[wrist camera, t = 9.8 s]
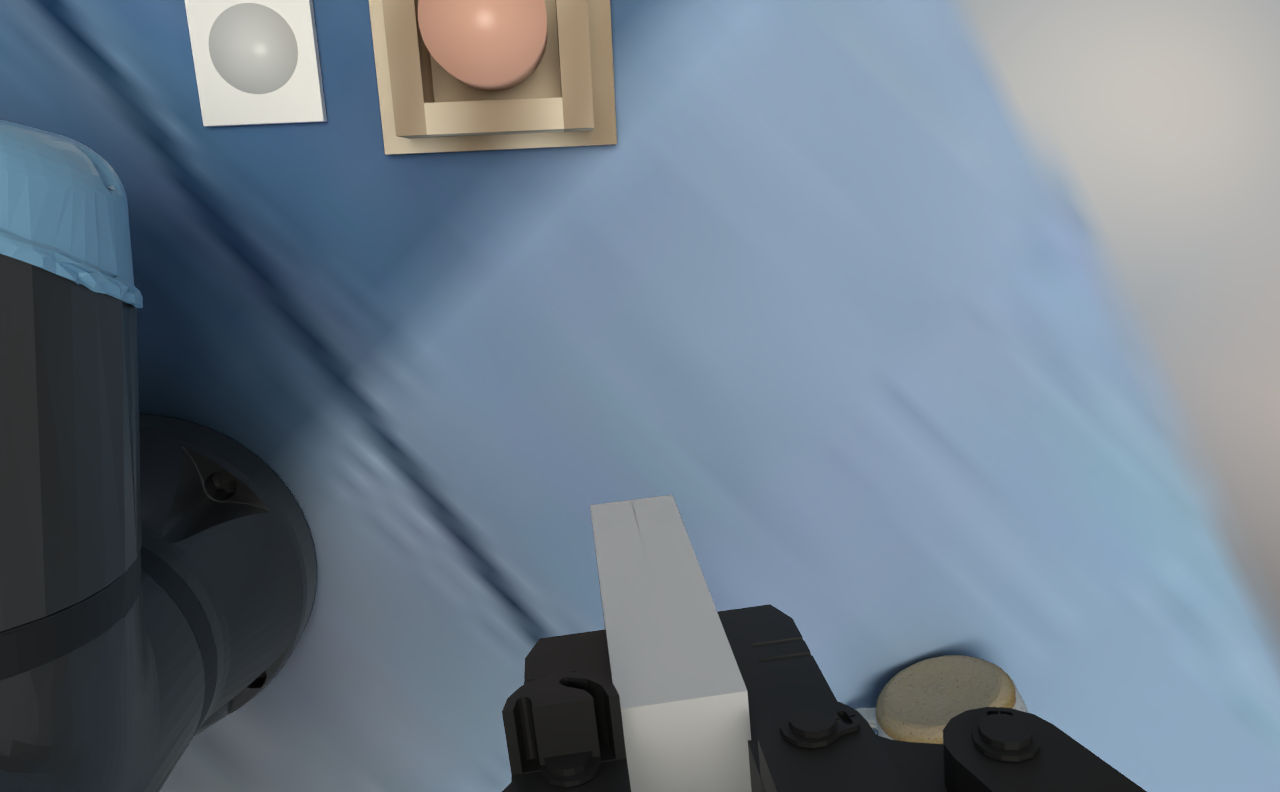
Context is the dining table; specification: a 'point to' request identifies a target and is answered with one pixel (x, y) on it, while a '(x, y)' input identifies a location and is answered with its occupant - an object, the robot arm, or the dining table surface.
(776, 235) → the dining table surface
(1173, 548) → the dining table surface
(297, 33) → the pattern card
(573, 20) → the button panel
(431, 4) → the button
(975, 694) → the ceramic mug
